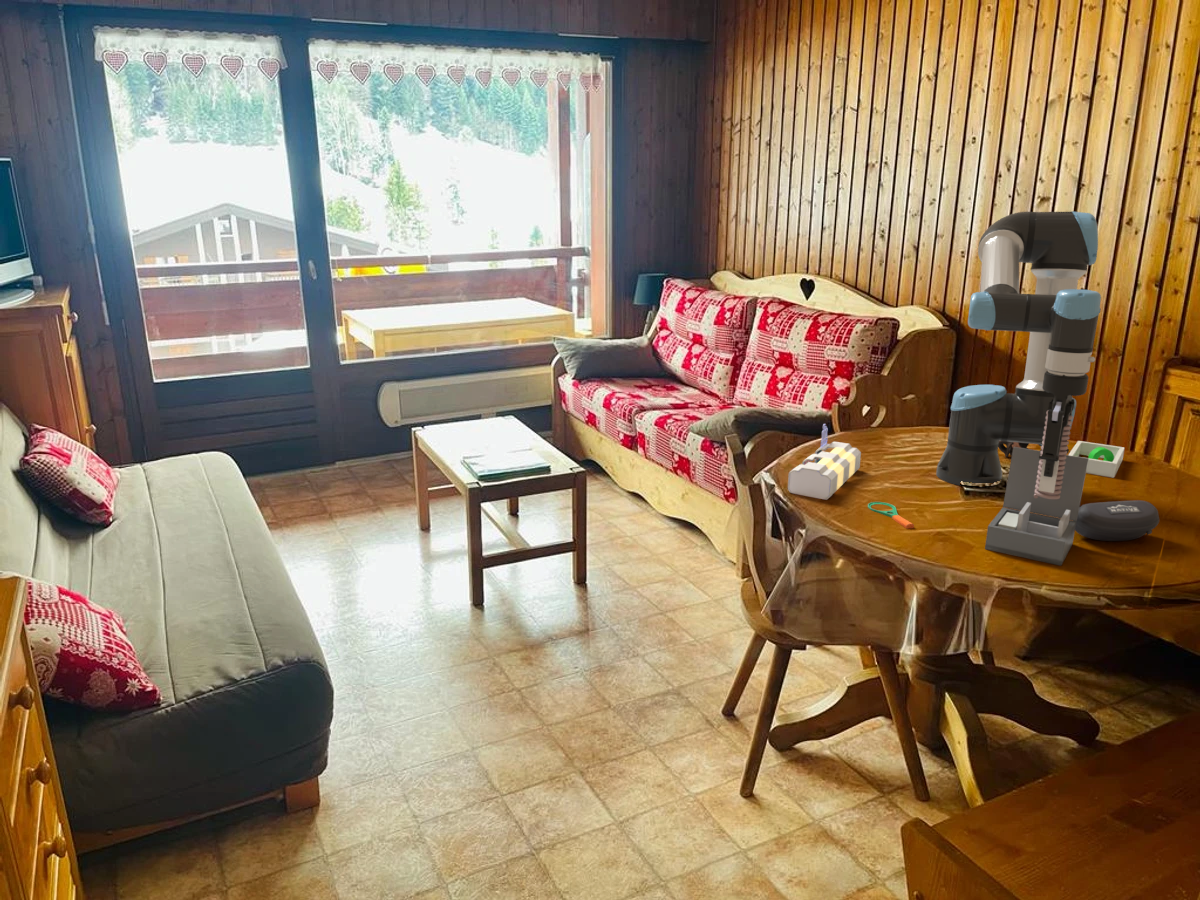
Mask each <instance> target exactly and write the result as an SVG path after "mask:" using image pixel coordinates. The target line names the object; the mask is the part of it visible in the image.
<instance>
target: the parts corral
mask: <svg viewBox="0 0 1200 900" xmlns="http://www.w3.org/2000/svg"><path fill="white" fill-rule="evenodd" d="M1097 447H1104V448H1106V449H1108V450H1110V451H1111V452H1112V453H1113V455H1114V460H1113V462H1109V461H1103V460H1102V459H1104V455H1102V456H1100V457H1099V458H1100V459H1099V458H1098V460H1096V459H1090V458H1089V459H1088V464H1087V470H1086V474H1090V475H1096V476H1102V477H1106V478H1113V479H1114V478H1115V477H1116V475H1117V473H1118V470H1119V469H1120V466H1121V464H1122V462H1123V458H1124V455H1125V447H1122V446H1119V445H1118V446H1116V445H1112V444H1111V445H1110V444H1103V443H1097V442H1096V443H1095V442H1089V441H1082V440H1077V441H1076V444H1075V445H1074V446H1073V447H1072V449H1071V450H1070V452H1068V454H1067V455H1070V456H1076V457H1080V455H1083V456H1089V454H1090V452H1091V451H1092V450H1093V449H1095V448H1097Z"/></svg>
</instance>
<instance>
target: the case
mask: <svg viewBox="0 0 1200 900" xmlns="http://www.w3.org/2000/svg"><path fill="white" fill-rule="evenodd" d="M1040 452H1041V451H1040V450H1037V449H1030V448H1028V449H1025V448H1018V447H1013V452H1012V456H1011V457H1010V458H1011V459H1010V464H1009V470H1008V476H1007V482H1006V487H1005V494H1004V499H1003V505H1002V508H1001V509H1000V510H999V512H998V513H997V514H996V516H994V517H993V519H992V520H991V521H990V523H989V524H988V526H987V530H986V538H985V546H984V549H985V550H988V551H993V552H997V553H1001V554H1007V555H1011V556H1014V557H1015V556H1016V557H1021V558H1025V559H1028V560H1033V561H1037V562H1041V563H1042V562H1043V563H1047V564H1051V565H1055V566H1063V563H1064V561H1065V560H1066V558H1067V555H1068V553H1069V551H1070V550H1071V549H1072V546H1073V542H1074V537H1075V533H1076V531H1075V526H1076V521H1077V517H1078V512H1079V507H1081V502H1082V495H1083V489H1084V484H1085V479H1086V474H1087V473H1086V470H1087V464H1088V459H1089V458H1088V457H1081V456H1078V457H1076V456H1070V455H1068V454H1066V455H1065V456H1066V459H1065V460H1064V461H1065V462H1066V464H1065V465H1064V466H1065V469H1064V470H1063V471H1064V474H1063V475H1062V476H1063V479H1062V482H1063V483H1062V484H1061V486H1062V488H1061V489H1059V490H1061V493H1060V494H1059V495H1060V498H1059V499H1056V500H1052V499H1046V498H1042V497H1040V496H1038V498H1034V494H1035V489H1036V488H1035V485H1036V480H1037V475H1038V473H1037V471H1038V470H1039V469H1038V466H1039V465H1040V464H1039V461H1040V459H1039V456H1040V455H1041V454H1040ZM1039 492H1040V491H1039Z"/></svg>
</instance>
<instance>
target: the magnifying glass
mask: <svg viewBox="0 0 1200 900" xmlns="http://www.w3.org/2000/svg"><path fill="white" fill-rule="evenodd" d="M874 505H881V506H882V505H884V506H887V507H890V508H891V509H890V510H879V509H878V510H877V509H875V508H872V506H874ZM867 508H868V509H869V510H870V511H872V512H874V513H877V514H880V515H884V516H887V517H889V518H891V519H892V520H894V521H895V522H896V523H898V524H899V525H900V526H902V527H903V528H905V529H914V528H915V524H914V523H912V522H911V521H909V520H907V519H905V518H904V517H902V516H901V515H899V514H898V511H897V507H896V506H895V505H893V504H891V503H888V502H882V501H871V502H869V503H868V504H867Z"/></svg>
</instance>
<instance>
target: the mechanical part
mask: <svg viewBox="0 0 1200 900" xmlns="http://www.w3.org/2000/svg"><path fill="white" fill-rule="evenodd" d="M1102 455H1104V458H1103V460H1102V461H1109V462H1113V460H1114V455H1113V453H1112V452H1111V451H1110V450H1108V449H1106V448H1104V447H1097V448H1095V449H1093V450H1092V451H1091V452H1090V454H1089V456H1088V457H1087V458H1090V459H1096V460H1099V457H1100V456H1102Z"/></svg>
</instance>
